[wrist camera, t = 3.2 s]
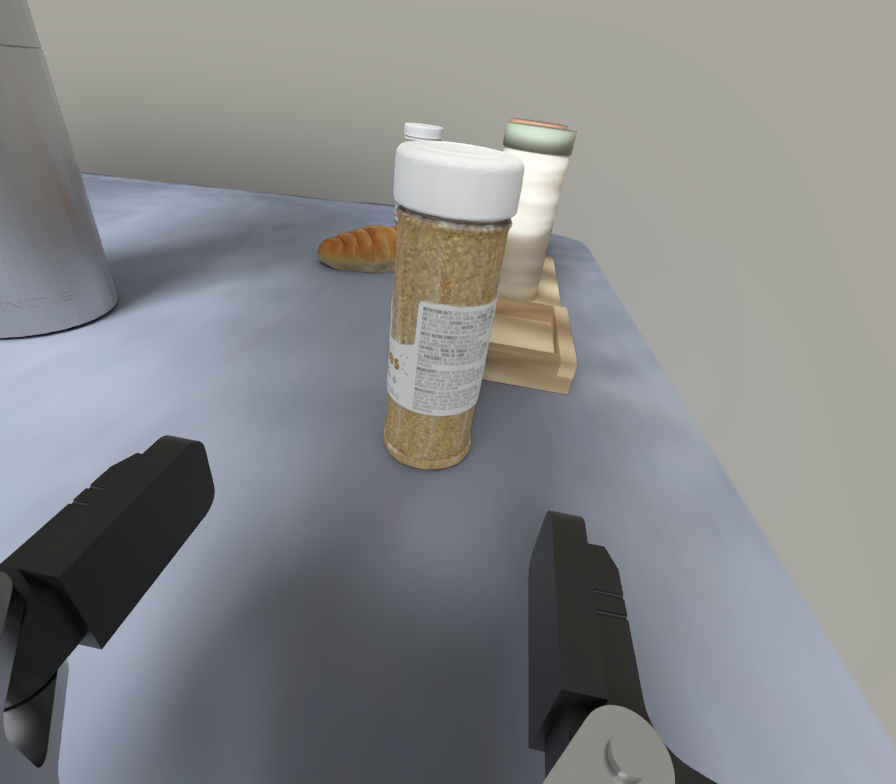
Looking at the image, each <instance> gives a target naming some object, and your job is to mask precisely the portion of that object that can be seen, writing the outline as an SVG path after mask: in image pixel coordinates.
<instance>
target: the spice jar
mask: <svg viewBox="0 0 896 784" xmlns="http://www.w3.org/2000/svg"><path fill="white" fill-rule="evenodd" d="M524 170H525V166H524V163H523V161H522V160H521V159H520V158H518V157H516V156H514V155H511V154H508V153H505V152H501V151H498V150H494V149H490V148H486V147H481V146H475V145H469V144H462V143H454V142H443V141H409V142H405V143H402V144H400V145H399V146H398V148H397V151H396V159H395V173H394V199H395V200H396V201H397V202H398V203H399V206H398V207H397V208H396V212H397V214H398V224H397V240H396V257H395V274H394V290H393V294H392V302H391V319H390V336H389V353H388V371H387V389H388V397H387V416H386V425H385V426H384V429H383V442H384V444H385V446H386V449H387V450H388V452H389V453H390V455H391V456H393V457H394V458H396V459H397V460H398V461H399V462H401V463H403V464H405V465H408V466H411V467H414V468H418V469H425V470H430V469H443V468H448V467H451V466H453V465H456V464H458V463H459V462H460V461H461V460H463V458H464V457H465V456H466V455H467V454H468V451H469V449H470V446H471V436H470V431H471V425H472V420H473V416H474V410H475V404H476V402H477V400H478V397H479V392H480V387H481V382H482V377H483V372H484V367H485V362H486V357H487V352H488V347H489V342H490V336H491V331H492V326H493V321H494V315H495V310H496V305H497V299H498V286H499V281H500V275H501V268H502V264H503V258H504V253H505V247H506V243H507V235H508V231H509V229H510V228H511V227H512V220H511V218H512V217H514V216H515V215H516V213H517V210H518V205H519V200H520V195H521V189H522V183H523V176H524Z"/></svg>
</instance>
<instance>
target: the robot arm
mask: <svg viewBox="0 0 896 784" xmlns="http://www.w3.org/2000/svg"><path fill="white" fill-rule="evenodd" d="M117 301H118V295H117V292H116V288H115V285H114V282H113V279H112V275H111V272H110V269H109V266H108V262H107V259H106V256H105V253H104V249H103V246H102V243H101V238H100V235H99V232H98V229H97V225H96V222H95V219H94V216H93V213H92V209H91V206H90V203H89V200H88V196H87V193H86V190H85V187H84V183H83V180H82V177H81V174H80V171H79V167H78V164H77V161H76V158H75V154H74V151H73V148H72V145H71V141H70V138H69V135H68V131H67V128H66V125H65V122H64V118H63V115H62V112H61V109H60V106H59V102H58V99H57V96H56V93H55V89H54V87H53V83H52V80H51V76H50V73H49V70H48V67H47V63H46V61H45V57H44V54H43V50H42V49H41V45H40V42H39V39H38V35H37V32H36V29H35V26H34V22H33V19H32V16H31V13H30V9H29V6H28V3H27V0H0V338H9V337H23V336H31V335H38V334H45V333H49V332H54V331H59V330H64V329H67V328H71V327H74V326H78V325H81V324H84V323H86V322H89V321H91V320H94V319H96V318H98V317H100V316H102V315H104V314H106V313H107V312H108V311H110V310H111V309H112V308H113V307H114V306H115V305H116V303H117ZM214 493H215V488H214V483H213V479H212V475H211V471H210V467H209V463H208V459H207V454H206V450H205V447H204V445H203V444H202V443H201V442H200V441H195V440H190V439H184V438H179V437H174V436H169V435H167V436H163V437H161V438H160V439H158V440H157V441H156V442H155V443H154V444H153V445H152V446H151V447H149V448H148V449H147V450H146V451H145V452H144V453H143V454H139V453H136V454H134V455H132V456H130V457H128V458H126V459H125V460H123V461H121V462H119V463H117V464H115V465H113V466H111V467H110V468H109V469H108V470H107V471H105V472H104V473H103V474H102V475H101V476H100V477H99V478H97V479H96V480H95V481H94V482H93V483H92V484H91V486H90V488H89V489H87V488H86V489H85V490H84V491H83V492H82V493H80V494H79V495H78V496H77V497H76V498H75V499H74V501H73V503H72V504H68V505H67V506H66V507H65V508H63V509H62V510H61V511H60V512H59V513H58V514H57V515H55V516H54V517H53V518H52V519H51V520H50V521H49V522H48V523H46V524H45V525H44V526H43V527H42V528H41V529H40V530H38V531H37V532H36V533H35V534H34V535H33V536H32V537H30V538H29V539H28V540H27V541H26V542H25V543H24V544H23V545H21V546H20V547H19V548H18V549H17V550H16V551H15V552H13V553H12V554H11V555H10V556H9V557H8V558H7V559H5V560H4V561H3V562H2V563H1V564H0V784H59V778H58V760H59V751H60V742H61V733H62V724H63V715H64V706H65V697H66V688H67V679H68V670H69V664H68V660H67V658H68V656H69V655H70V654H71V653H72V651H73V650H74V649H75V648H76V647H77V645H78V644H80V645H85V646H89V647H94V648H98V649H103V647H104V646H105V645H106V643H107V642H108V641H109V639H110V638H111V637H112V636H113V634H114V633H115V632H116V630H117V629H118V628H119V627H120V625H121V624H122V623H123V621H124V620H125V619H126V618H127V616H128V615H129V614H130V612H131V611H132V610H133V609H134V607H135V606H136V605H137V603H138V602H139V601H140V599H141V598H142V597H143V596H144V594H145V593H146V592H147V590H148V589H149V588H150V587H151V585H152V584H153V583H154V581H155V580H156V579H157V578H158V576H159V575H160V574H161V572H162V571H163V570H164V568H165V567H166V566H167V565H168V563H169V562H170V561H171V559H172V558H173V557H174V556H175V554H176V553H177V552H178V550H179V549H180V548H181V547H182V545H183V544H184V543H185V541H186V540H187V539H188V538H189V536H190V535H191V534H192V532H193V531H194V530H195V528H196V527H197V526H198V525H199V523H200V522H201V521H202V519H203V518H204V517H205V516H206V514H207V513H208V511H209V509H210V507H211V505H212V502H213V499H214ZM528 594H529V748H530V749H535V750H539V751H544V752H545V777H546V779H545V780H544V782H543V783H542V784H717V783H715V782H714V781H712V780H710V779H709V778H707V777H705V776H704V775H702V774H700V773H699V772H697V771H695V770H694V769H692V768H691V767H689V766H688V765H686V764H685V763H684V762H682V761H681V760H680V759H679V758H678V757H676V756H675V755H674V754H673V753H672V752H671V750H670V749H669V748H668V747H667V746H666V745H665V744H664V742H663V741H662V739H661V738H660V736H659V735H658V734H657V732H656V731H655V729H654V727H653V725H652V723H651V721H650V719H649V717H648V714H647V712H646V709H645V705H644V701H643V696H642V690H641V685H640V680H639V675H638V670H637V664H636V659H635V654H634V649H633V644H632V638H631V633H630V628H629V623H628V621H627V612H626V607H625V602H624V599H623V591H622V586H621V581H620V576H619V571H618V568H617V567H616V565H615V563H614V562H613V560H612V558H611V557H610V555H609V553H608V552H607V550H606V548H605V547H603V546H598V545H593V544H588V543H587V535H586V528H585V522H584V519H583V518H582V517H579V516H574V515H569V514H564V513H559V512H554V511H548V512H547V513H546V516H545V518H544V521H543V524H542V527H541V530H540V533H539V536H538V538H537V541H536V544H535V547H534V550H533V553H532V557H531V561H530V568H529V582H528Z"/></svg>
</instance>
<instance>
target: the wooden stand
mask: <svg viewBox="0 0 896 784" xmlns="http://www.w3.org/2000/svg"><path fill="white" fill-rule="evenodd" d="M567 127H568V126H564V125H559V124H554V123H547V122H541V121H533V120H526V119H518V118H510V122H507V123H506V128H505V135H504V141H503V145H504V149H503V152H505V153H508V154H511V155H514V156H516V157H518V158H520V159H521V160H522V161H523V163H524V166H525V170H524V176H523V183H522V189H521V195H520V200H519V205H518V210H517V213H516V215H515V216H514V217H512V218H511V220H512V227H511V228H510V229H509V231H508V235H507V243H506V247H505V253H504V258H503V264H502V268H501V275H500V281H499V286H498V299H497V305H496V310H495V315H494V321H493V326H492V331H491V336H490V342H489V347H488V352H487V357H486V362H485V367H484V372H483V377H482V379H483V380H488V381H494V382H500V383H505V384H511V385H516V386H522V387H528V388H533V389H539V390H545V391H550V392H556V393H561V394H567V395H568V393H569V390H570V387H571V384H572V380H573V377H574V374H575V371H576V368H577V360H576V354H575V349H574V344H573V338H572V333H571V328H570V323H569V317H568V312H567V308H564V307H561V302H560V296H559V290H558V284H557V278H556V272H555V266H554V260H553V257H549V256H546V253H547V249H548V244H549V240H550V236H551V232H552V227H553V223H554V219H555V215H556V211H557V207H558V202H559V198H560V194H561V190H562V186H563V181H564V177H565V173H566V168H567V165H568V160H569V156H570V155H571V153H572V150H573V145H574V141H575V137H576V133H577V132H575V131H571V130H567Z"/></svg>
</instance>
